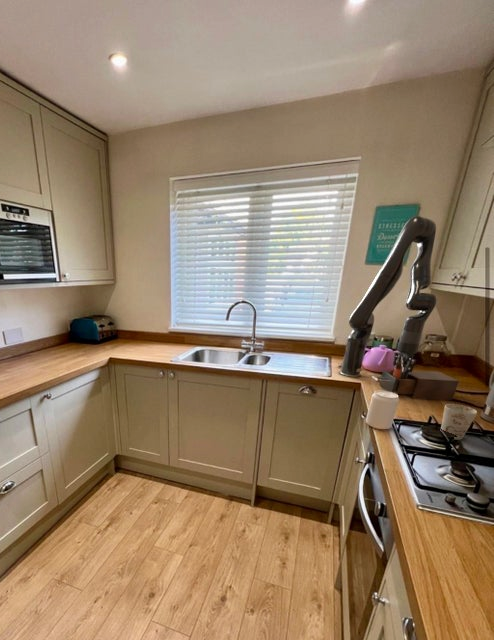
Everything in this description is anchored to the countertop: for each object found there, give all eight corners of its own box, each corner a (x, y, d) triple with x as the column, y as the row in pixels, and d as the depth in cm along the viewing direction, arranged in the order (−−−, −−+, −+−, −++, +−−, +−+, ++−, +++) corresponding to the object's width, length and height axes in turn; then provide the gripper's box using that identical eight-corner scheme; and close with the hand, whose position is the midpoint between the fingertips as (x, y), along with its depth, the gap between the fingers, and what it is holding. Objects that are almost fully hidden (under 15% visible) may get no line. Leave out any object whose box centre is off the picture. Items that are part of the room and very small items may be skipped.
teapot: (360, 374, 177) (366, 348, 172) (353, 363, 196) (358, 340, 191) (406, 378, 171) (414, 352, 166) (394, 367, 191) (401, 344, 186)
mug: (433, 435, 112) (443, 408, 108) (440, 424, 120) (449, 398, 116) (464, 444, 106) (475, 416, 103) (470, 432, 114) (480, 405, 111)
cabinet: (413, 398, 145) (418, 378, 141) (397, 387, 157) (403, 369, 154) (452, 400, 143) (459, 380, 140) (433, 389, 156) (439, 371, 152)
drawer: (377, 393, 146) (381, 378, 144) (366, 384, 158) (369, 370, 155) (427, 396, 144) (431, 381, 142) (412, 387, 156) (416, 372, 153)
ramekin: (389, 376, 152) (392, 366, 150) (402, 377, 151) (405, 367, 150) (395, 380, 147) (398, 370, 145) (408, 381, 146) (411, 371, 144)
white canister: (390, 423, 119) (399, 392, 115) (390, 432, 113) (400, 400, 108) (365, 418, 123) (373, 388, 118) (364, 426, 116) (372, 395, 112)
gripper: (428, 345, 136) (416, 384, 142) (410, 338, 149) (400, 374, 155) (409, 344, 136) (397, 382, 143) (392, 337, 150) (383, 373, 156)
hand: (399, 378), depth 149 cm, fingers closed on ramekin, 5 cm apart
